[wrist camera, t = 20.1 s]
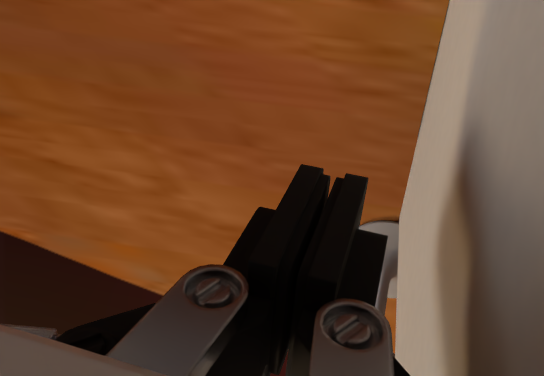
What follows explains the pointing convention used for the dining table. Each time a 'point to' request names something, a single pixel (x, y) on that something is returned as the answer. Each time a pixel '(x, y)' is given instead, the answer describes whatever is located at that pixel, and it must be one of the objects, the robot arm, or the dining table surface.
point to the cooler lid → (477, 201)
